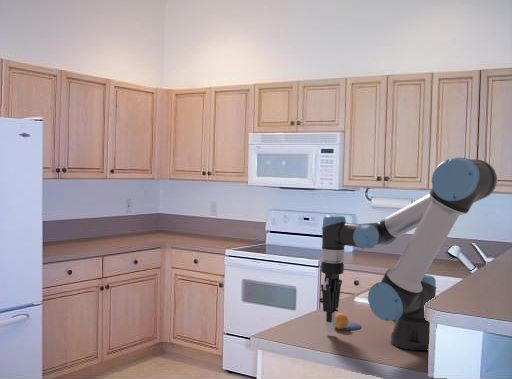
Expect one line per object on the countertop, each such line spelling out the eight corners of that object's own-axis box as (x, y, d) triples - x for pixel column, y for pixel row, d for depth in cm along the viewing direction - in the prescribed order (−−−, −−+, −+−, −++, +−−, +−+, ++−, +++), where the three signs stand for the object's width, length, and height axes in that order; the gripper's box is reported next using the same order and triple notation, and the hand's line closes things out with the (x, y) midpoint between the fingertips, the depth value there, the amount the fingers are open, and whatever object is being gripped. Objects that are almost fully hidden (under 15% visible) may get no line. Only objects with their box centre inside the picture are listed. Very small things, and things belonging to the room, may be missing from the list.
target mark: (368, 328, 201) (368, 327, 201) (341, 331, 195) (341, 331, 195) (347, 320, 211) (347, 319, 211) (321, 323, 206) (321, 322, 206)
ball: (349, 317, 196) (349, 331, 197) (347, 310, 201) (347, 325, 202) (333, 317, 196) (333, 331, 197) (332, 310, 201) (332, 324, 202)
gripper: (329, 257, 198) (327, 324, 198) (314, 262, 187) (311, 333, 187) (350, 260, 194) (347, 328, 195) (335, 264, 183) (332, 337, 183)
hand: (330, 330), depth 191 cm, fingers closed
